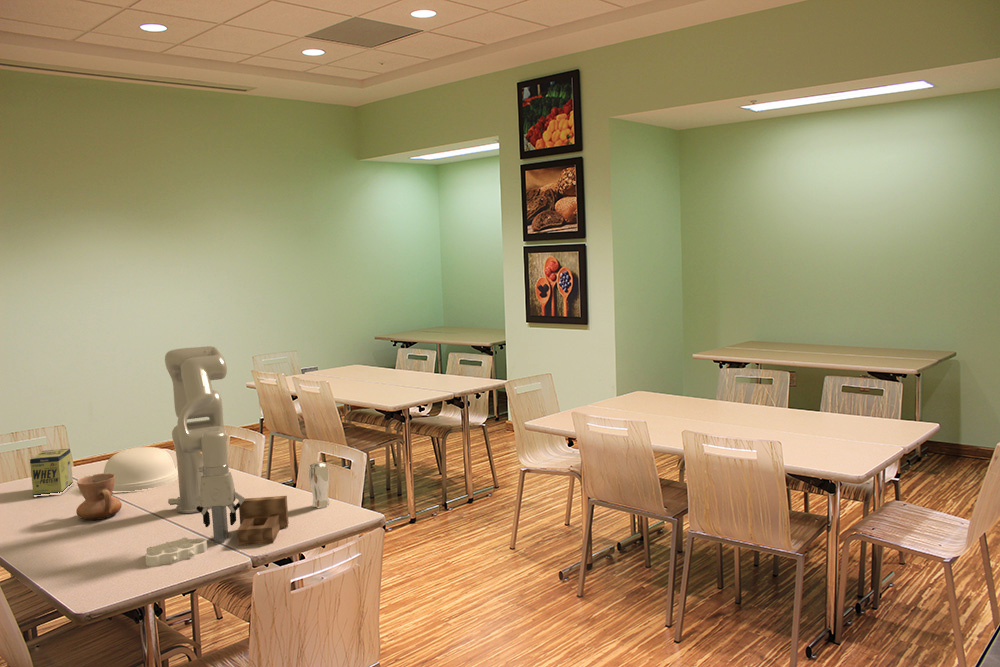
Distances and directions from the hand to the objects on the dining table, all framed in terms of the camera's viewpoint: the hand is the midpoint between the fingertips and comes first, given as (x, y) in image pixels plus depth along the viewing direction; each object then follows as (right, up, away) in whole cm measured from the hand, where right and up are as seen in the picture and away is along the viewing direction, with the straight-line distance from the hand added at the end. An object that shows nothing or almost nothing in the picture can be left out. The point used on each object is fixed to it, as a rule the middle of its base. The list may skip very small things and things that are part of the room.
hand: (220, 524), depth 250 cm
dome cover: (-59, -1, +74) cm, 95 cm away
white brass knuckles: (-9, -7, -12) cm, 17 cm away
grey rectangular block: (0, -5, 0) cm, 5 cm away
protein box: (-90, -3, +66) cm, 112 cm away
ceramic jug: (-53, -5, +30) cm, 61 cm away
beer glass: (+25, -1, +32) cm, 41 cm away
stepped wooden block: (+12, -4, +3) cm, 13 cm away
